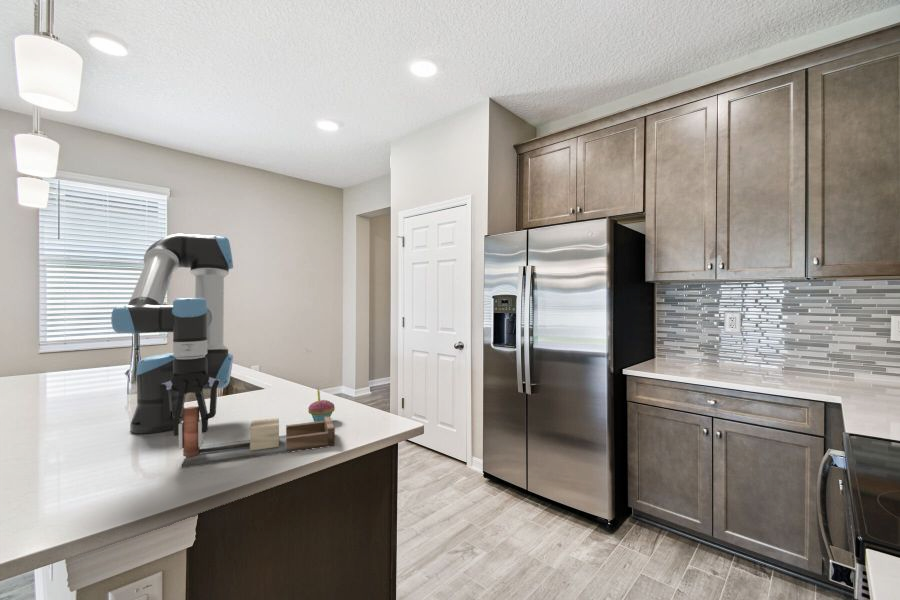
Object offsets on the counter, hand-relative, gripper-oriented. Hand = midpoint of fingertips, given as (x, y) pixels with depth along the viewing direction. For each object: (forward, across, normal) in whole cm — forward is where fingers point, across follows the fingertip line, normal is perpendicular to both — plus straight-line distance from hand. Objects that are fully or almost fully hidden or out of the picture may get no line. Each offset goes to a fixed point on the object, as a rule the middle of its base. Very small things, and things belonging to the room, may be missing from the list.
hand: (191, 446), depth 104 cm
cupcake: (+3, +34, +18) cm, 39 cm away
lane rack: (+3, +17, 0) cm, 18 cm away
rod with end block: (+2, +10, 0) cm, 10 cm away
